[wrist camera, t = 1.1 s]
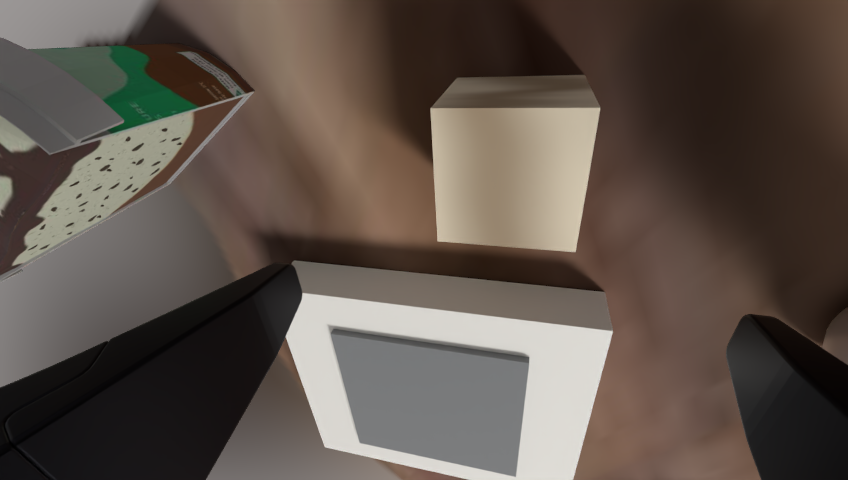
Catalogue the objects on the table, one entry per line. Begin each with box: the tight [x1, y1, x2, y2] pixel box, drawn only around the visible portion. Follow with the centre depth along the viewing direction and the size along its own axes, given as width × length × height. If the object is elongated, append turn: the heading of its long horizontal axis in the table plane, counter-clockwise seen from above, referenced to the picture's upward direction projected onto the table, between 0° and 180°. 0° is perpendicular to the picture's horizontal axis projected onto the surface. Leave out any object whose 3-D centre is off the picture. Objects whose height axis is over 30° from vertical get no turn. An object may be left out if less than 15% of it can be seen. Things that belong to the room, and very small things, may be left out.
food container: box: [0, 38, 254, 283], centre depth 16 cm, size 12×6×10 cm, turn 128°
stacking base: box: [286, 260, 613, 480], centre depth 25 cm, size 18×16×3 cm
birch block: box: [430, 75, 600, 252], centre depth 15 cm, size 5×5×5 cm
